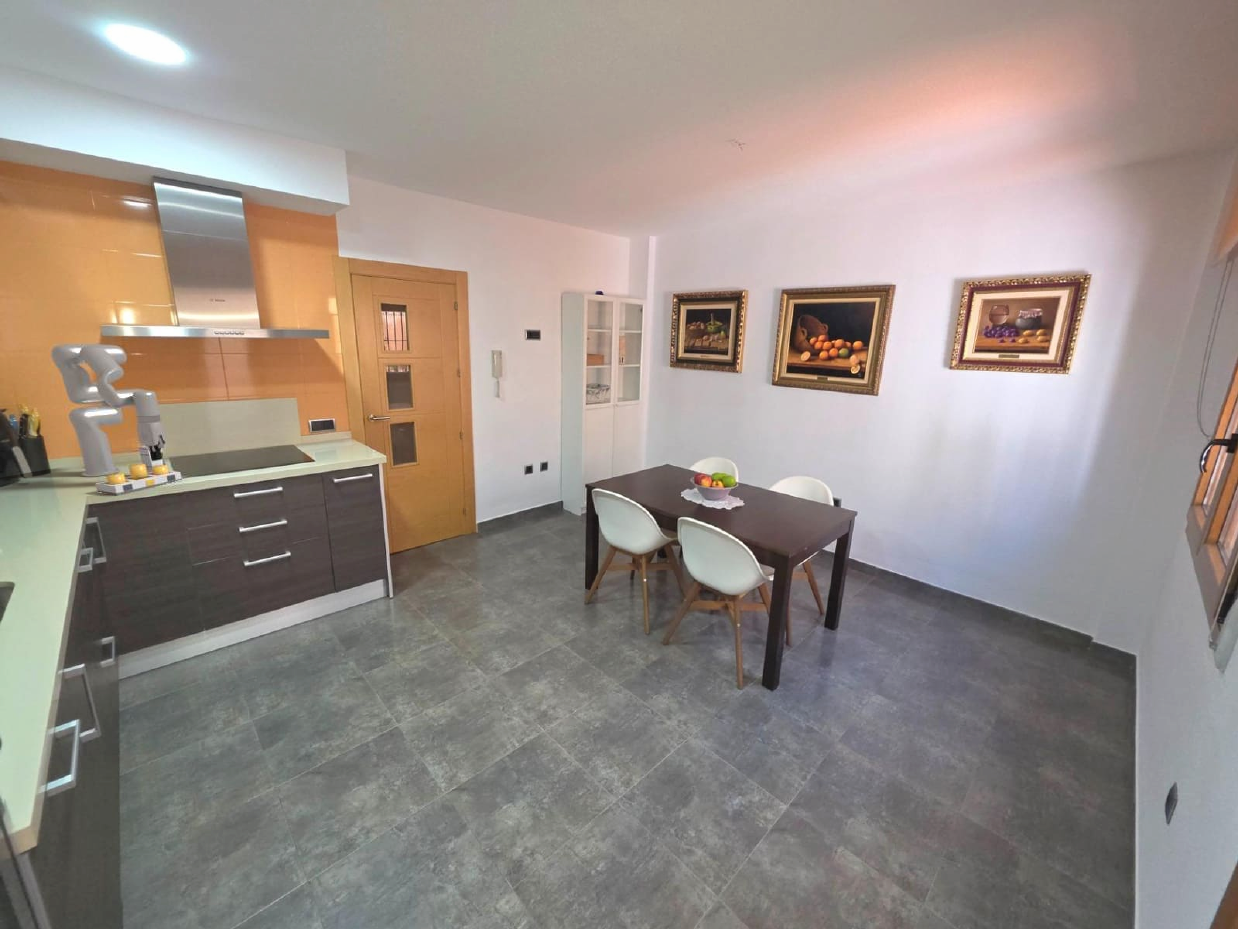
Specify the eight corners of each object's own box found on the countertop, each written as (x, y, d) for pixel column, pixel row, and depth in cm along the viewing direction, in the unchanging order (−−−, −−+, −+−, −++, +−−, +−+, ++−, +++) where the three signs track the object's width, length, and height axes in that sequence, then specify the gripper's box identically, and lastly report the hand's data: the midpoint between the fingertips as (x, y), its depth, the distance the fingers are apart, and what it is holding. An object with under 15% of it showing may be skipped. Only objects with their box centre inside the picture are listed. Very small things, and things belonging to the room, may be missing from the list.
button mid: (128, 479, 212) (125, 466, 211) (142, 476, 217) (139, 463, 216) (137, 480, 211) (133, 467, 209) (151, 477, 216) (148, 464, 214)
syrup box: (154, 477, 228) (147, 447, 225) (144, 476, 229) (137, 446, 226) (167, 474, 234) (161, 444, 230) (157, 473, 235) (151, 444, 231)
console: (97, 492, 205) (95, 483, 204) (163, 478, 228) (161, 469, 227) (117, 495, 202) (115, 486, 201) (182, 480, 224) (180, 472, 223)
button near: (106, 489, 205) (103, 475, 204) (121, 486, 210) (118, 472, 209) (115, 491, 204) (111, 477, 202) (130, 487, 209) (127, 474, 207)
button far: (151, 480, 220) (148, 467, 219) (164, 477, 225) (161, 464, 224) (159, 481, 219) (156, 468, 217) (172, 478, 224) (170, 465, 222)
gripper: (126, 418, 214) (135, 459, 218) (151, 422, 210) (159, 463, 215) (147, 416, 221) (154, 456, 225) (170, 419, 217) (178, 459, 222)
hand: (156, 459), depth 220 cm, fingers closed
